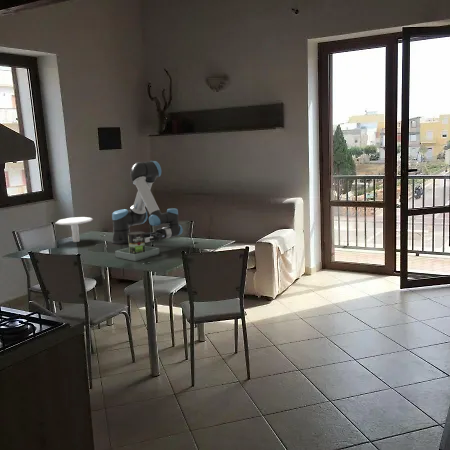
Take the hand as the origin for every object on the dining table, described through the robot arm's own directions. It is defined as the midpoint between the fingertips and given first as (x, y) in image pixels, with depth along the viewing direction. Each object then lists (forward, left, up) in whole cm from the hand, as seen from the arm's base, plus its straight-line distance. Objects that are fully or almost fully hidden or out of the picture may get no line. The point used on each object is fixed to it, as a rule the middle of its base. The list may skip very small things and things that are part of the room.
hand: (138, 239), depth 313 cm
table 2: (-79, +3, -11) cm, 80 cm away
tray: (0, -2, -11) cm, 11 cm away
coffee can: (0, -2, -10) cm, 10 cm away
